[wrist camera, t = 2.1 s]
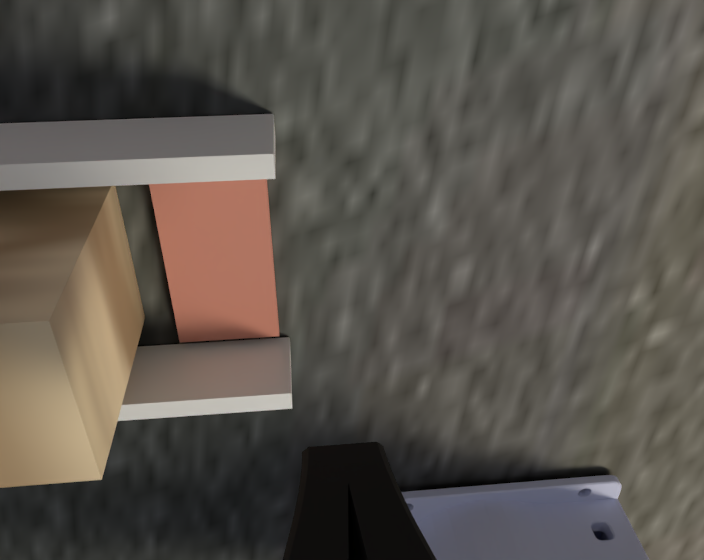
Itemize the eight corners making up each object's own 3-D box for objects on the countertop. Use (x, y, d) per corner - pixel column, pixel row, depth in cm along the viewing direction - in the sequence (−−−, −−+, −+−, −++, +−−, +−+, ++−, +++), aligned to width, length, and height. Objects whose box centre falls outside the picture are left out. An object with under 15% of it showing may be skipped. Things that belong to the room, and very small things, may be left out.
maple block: (114, 179, 17) (49, 321, 12) (145, 316, 20) (101, 479, 15) (-67, 187, 17) (-210, 336, 12) (-11, 326, 19) (-110, 496, 14)
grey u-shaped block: (273, 114, 16) (273, 153, 14) (290, 352, 21) (292, 408, 19) (-283, 133, 15) (-369, 179, 13) (-142, 379, 20) (-190, 443, 18)
